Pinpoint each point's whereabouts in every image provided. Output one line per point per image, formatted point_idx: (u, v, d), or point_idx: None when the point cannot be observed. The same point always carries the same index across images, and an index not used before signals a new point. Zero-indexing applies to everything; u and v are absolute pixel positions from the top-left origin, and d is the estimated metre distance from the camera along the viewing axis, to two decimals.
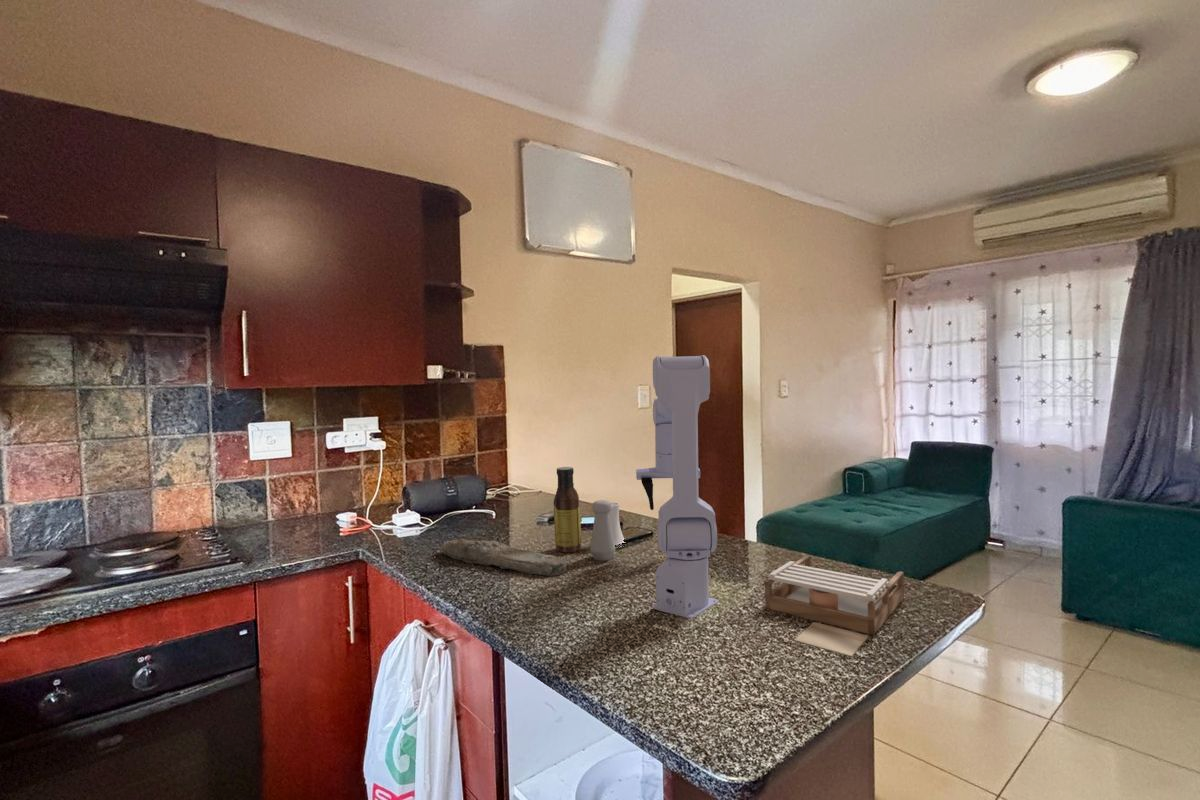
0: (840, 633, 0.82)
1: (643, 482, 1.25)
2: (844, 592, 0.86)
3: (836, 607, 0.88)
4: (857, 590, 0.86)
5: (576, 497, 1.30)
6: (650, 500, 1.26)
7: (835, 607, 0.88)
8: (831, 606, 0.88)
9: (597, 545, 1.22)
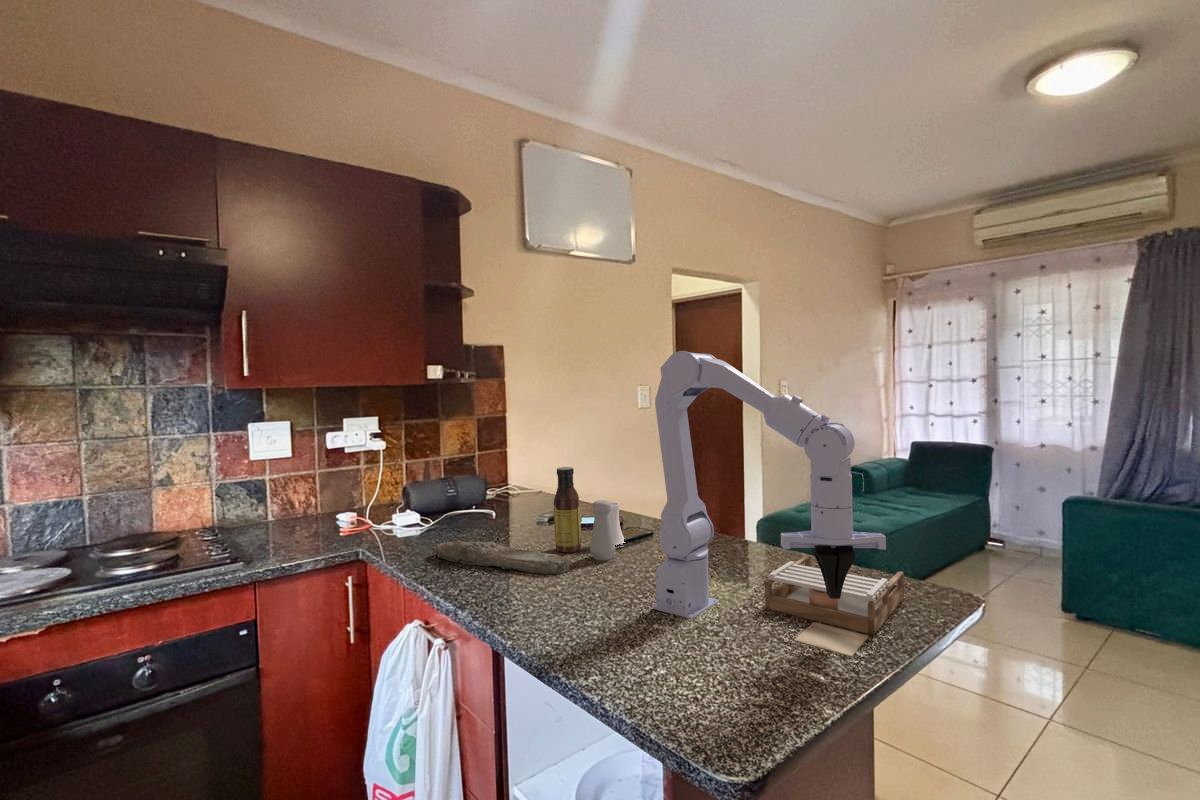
0: (840, 633, 0.82)
1: (819, 553, 0.80)
2: (844, 592, 0.86)
3: (836, 607, 0.88)
4: (857, 590, 0.86)
5: (576, 497, 1.30)
6: (831, 583, 0.80)
7: (835, 607, 0.88)
8: (831, 606, 0.88)
9: (597, 545, 1.22)
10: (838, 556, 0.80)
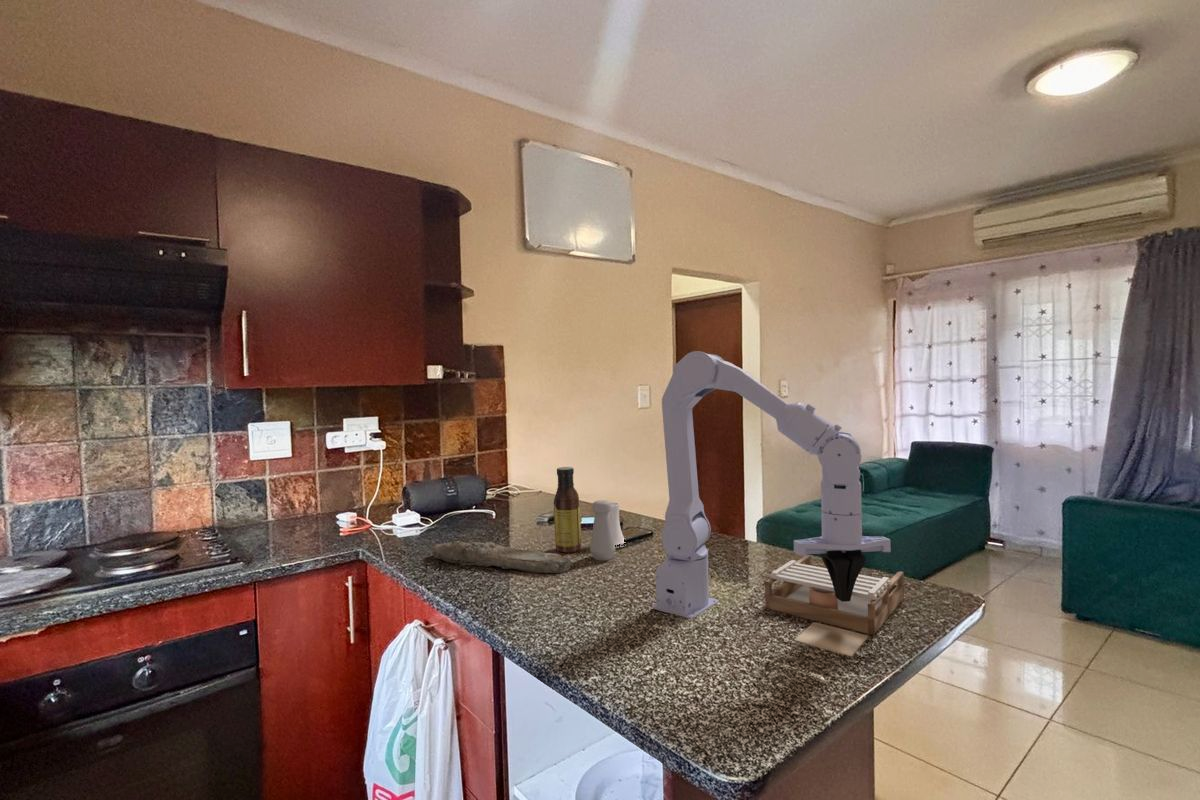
0: (840, 633, 0.82)
1: (833, 558, 0.83)
2: None
3: (836, 607, 0.88)
4: (858, 589, 0.87)
5: (576, 497, 1.30)
6: (843, 586, 0.83)
7: (835, 607, 0.88)
8: (831, 606, 0.88)
9: (597, 545, 1.22)
10: (850, 560, 0.83)
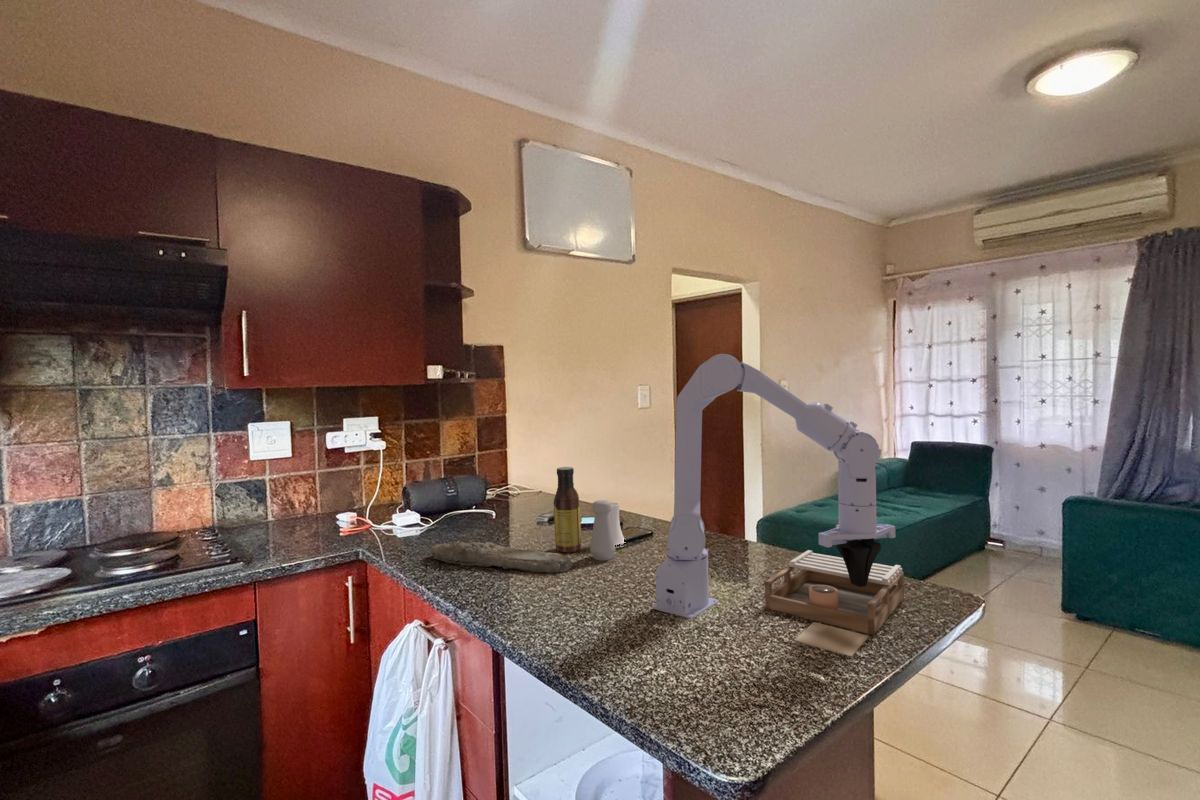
0: (840, 633, 0.82)
1: (854, 547, 0.89)
2: None
3: (836, 607, 0.88)
4: (872, 576, 0.93)
5: (576, 497, 1.30)
6: (862, 573, 0.90)
7: (835, 607, 0.88)
8: (831, 606, 0.88)
9: (597, 545, 1.22)
10: (868, 548, 0.89)
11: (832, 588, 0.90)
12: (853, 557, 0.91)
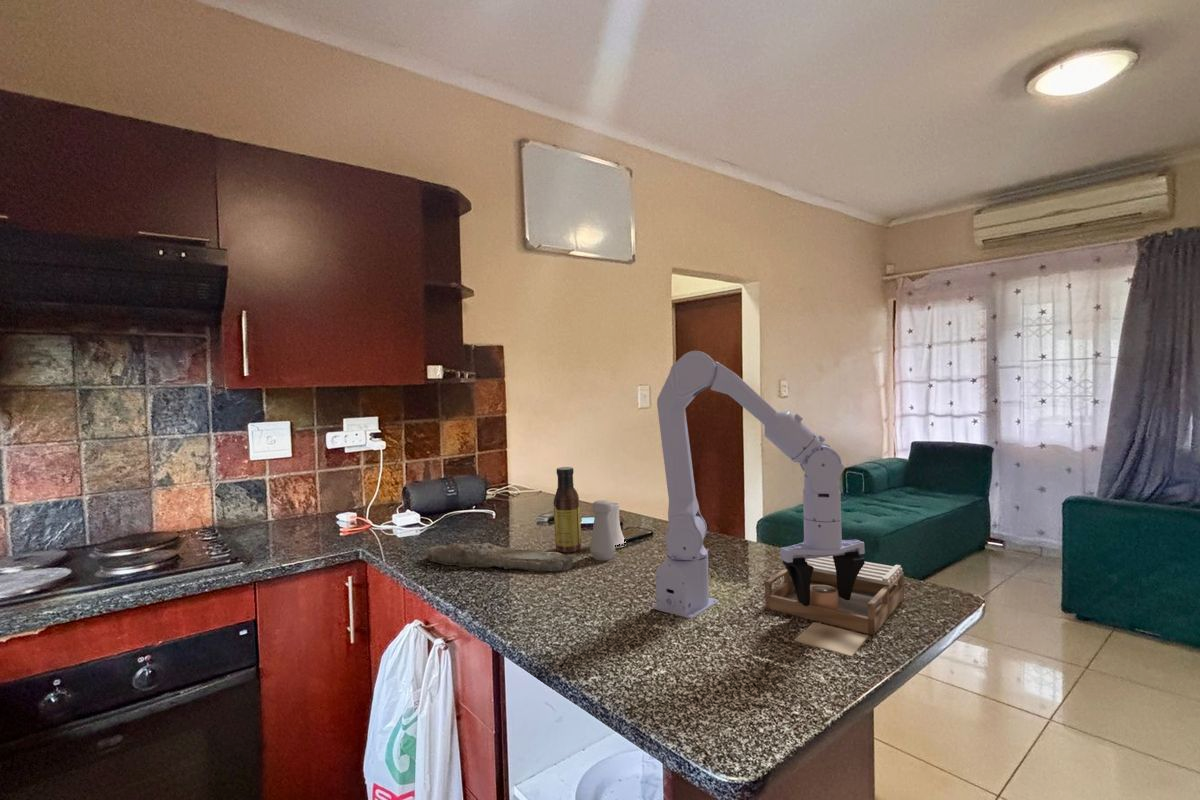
0: (840, 633, 0.82)
1: (798, 565, 0.87)
2: (861, 577, 0.92)
3: (836, 607, 0.88)
4: (872, 575, 0.93)
5: (576, 497, 1.30)
6: (806, 592, 0.88)
7: (835, 607, 0.88)
8: (831, 606, 0.88)
9: (597, 545, 1.22)
10: (851, 562, 0.89)
11: (832, 588, 0.90)
12: None
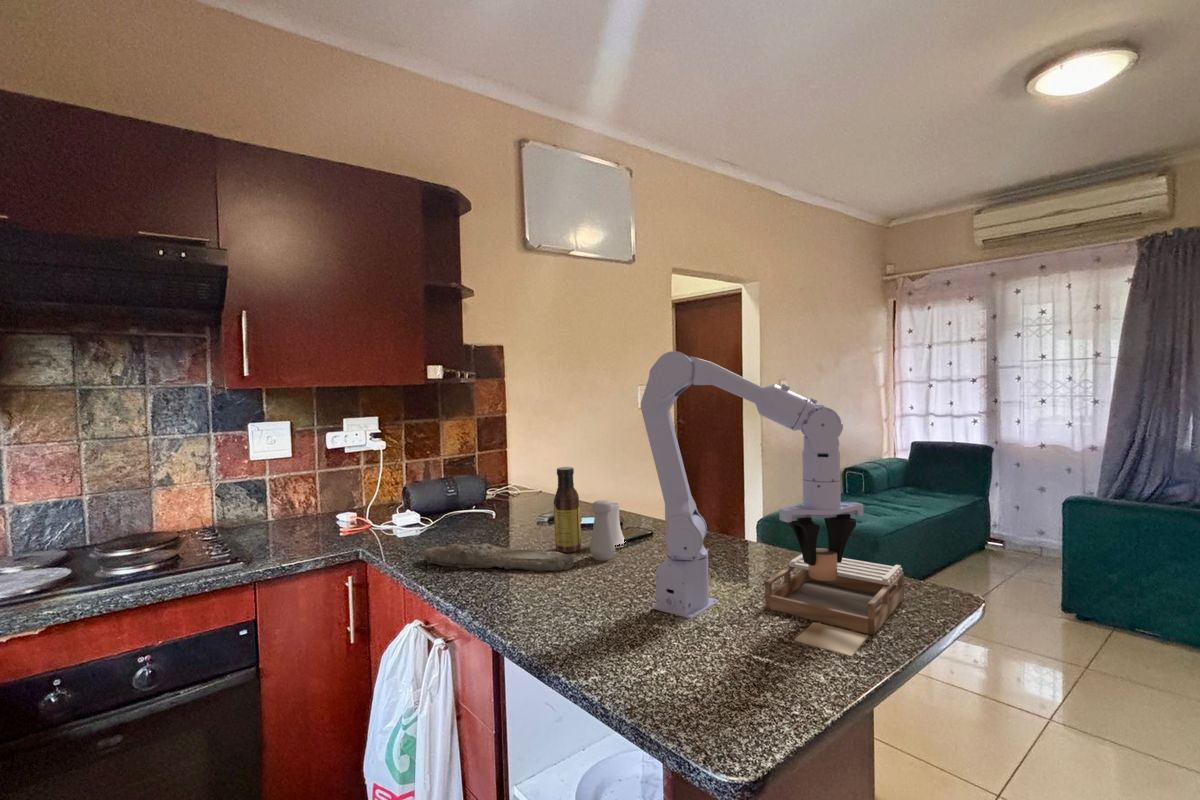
0: (840, 633, 0.82)
1: (804, 524, 0.87)
2: (861, 577, 0.92)
3: (835, 569, 0.88)
4: (872, 575, 0.93)
5: (576, 497, 1.30)
6: (812, 551, 0.88)
7: (834, 569, 0.88)
8: (830, 568, 0.88)
9: (597, 545, 1.22)
10: (842, 524, 0.89)
11: (831, 551, 0.90)
12: (805, 535, 0.89)
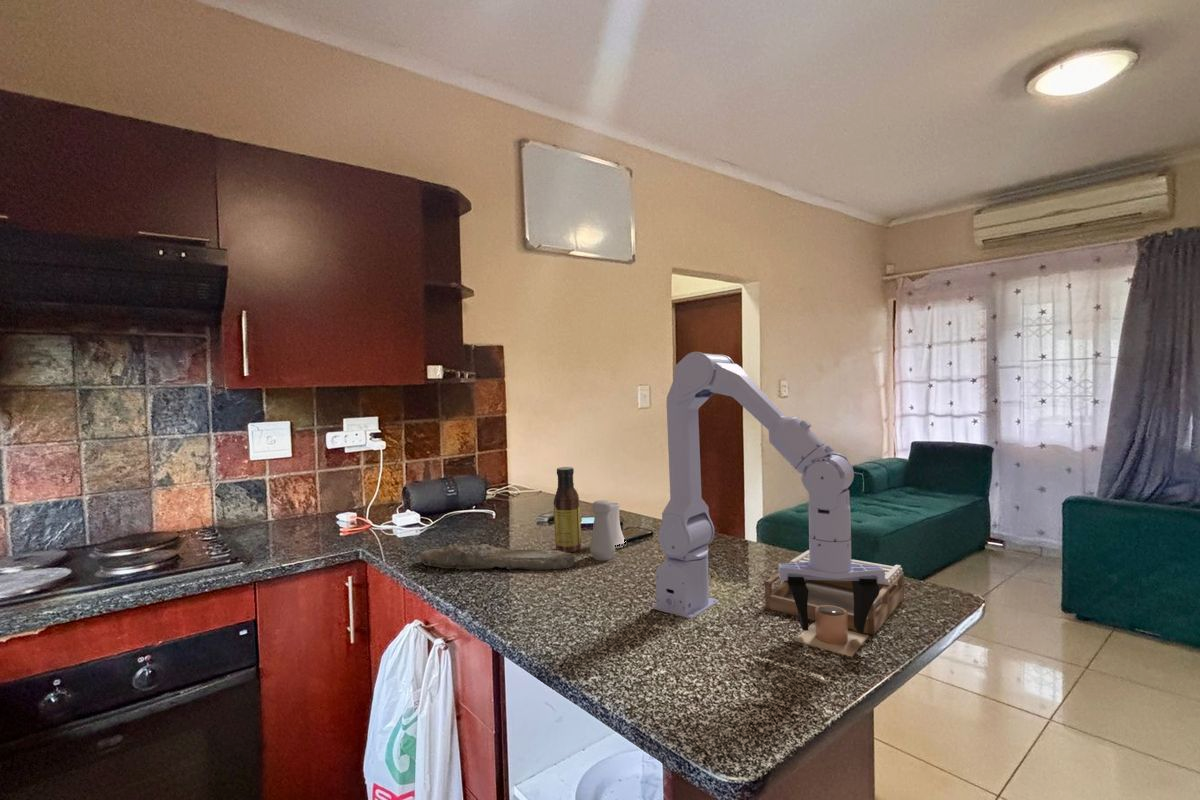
0: None
1: (791, 585, 0.80)
2: None
3: (841, 632, 0.79)
4: None
5: (576, 497, 1.30)
6: (803, 615, 0.80)
7: (840, 632, 0.79)
8: (834, 630, 0.79)
9: (597, 545, 1.22)
10: (861, 590, 0.78)
11: (842, 612, 0.80)
12: None
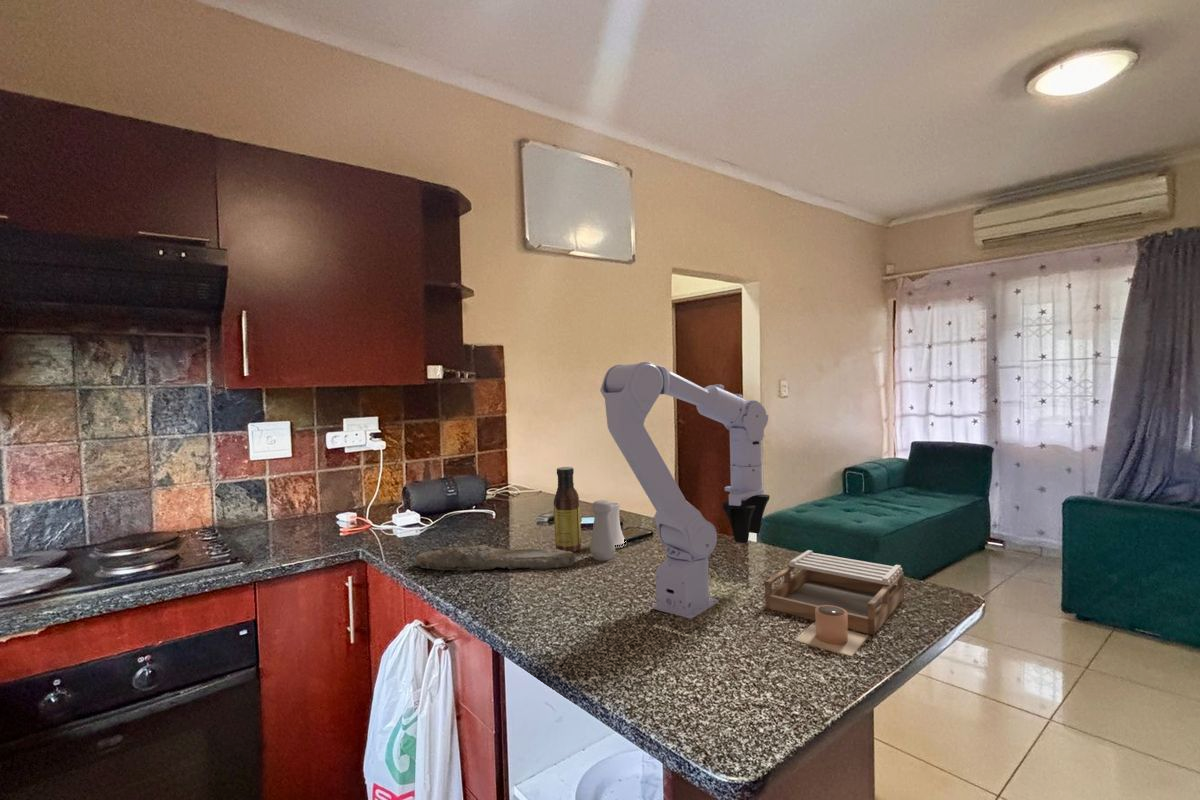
0: None
1: (746, 507, 0.97)
2: (861, 577, 0.92)
3: (841, 632, 0.79)
4: (872, 575, 0.93)
5: (576, 497, 1.30)
6: (748, 530, 0.98)
7: (840, 632, 0.79)
8: (834, 630, 0.79)
9: (597, 545, 1.22)
10: (763, 499, 1.04)
11: (842, 611, 0.80)
12: (739, 517, 0.99)
